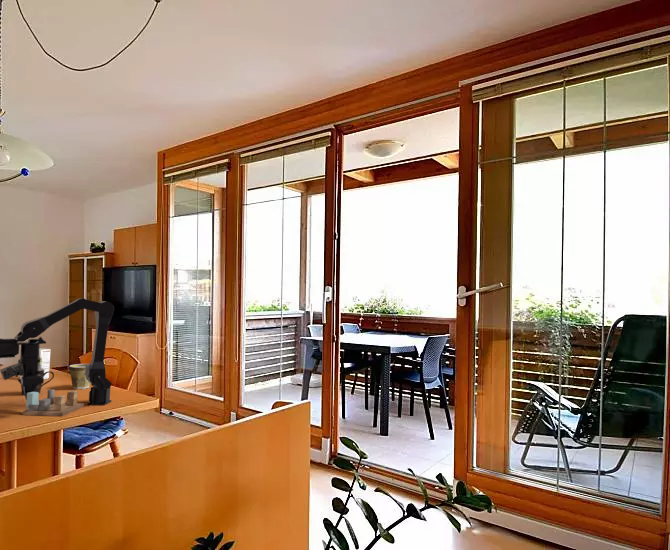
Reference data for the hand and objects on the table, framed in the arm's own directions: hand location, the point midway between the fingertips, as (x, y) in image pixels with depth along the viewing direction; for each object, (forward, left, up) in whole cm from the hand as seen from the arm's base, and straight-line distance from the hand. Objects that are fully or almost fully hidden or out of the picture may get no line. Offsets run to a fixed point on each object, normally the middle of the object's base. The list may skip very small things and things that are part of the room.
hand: (27, 399), depth 170 cm
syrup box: (+31, -57, -4) cm, 65 cm away
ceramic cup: (+3, -42, -4) cm, 42 cm away
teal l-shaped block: (-3, 0, -3) cm, 4 cm away
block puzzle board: (-9, -2, -4) cm, 10 cm away
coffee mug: (+14, -27, -4) cm, 31 cm away
